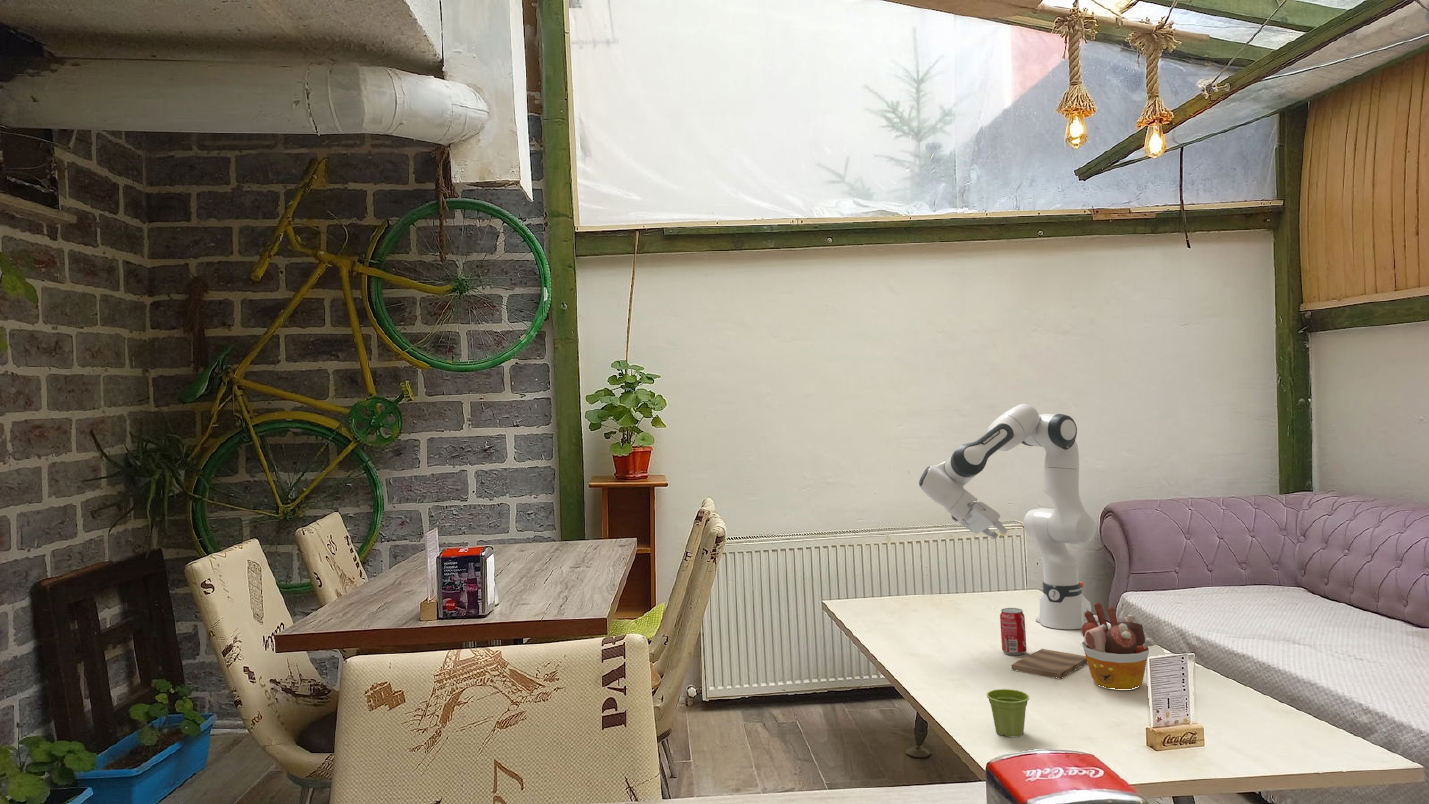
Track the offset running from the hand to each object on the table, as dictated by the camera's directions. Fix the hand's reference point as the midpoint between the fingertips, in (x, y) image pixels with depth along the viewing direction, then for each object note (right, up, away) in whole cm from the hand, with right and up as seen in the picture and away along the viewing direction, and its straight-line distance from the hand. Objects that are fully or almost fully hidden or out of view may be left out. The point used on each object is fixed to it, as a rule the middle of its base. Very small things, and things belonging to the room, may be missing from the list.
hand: (1001, 535), depth 268 cm
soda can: (+2, -35, -6) cm, 36 cm away
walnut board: (+8, -35, -20) cm, 41 cm away
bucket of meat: (+18, -34, -38) cm, 54 cm away
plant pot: (-21, -36, -68) cm, 79 cm away
